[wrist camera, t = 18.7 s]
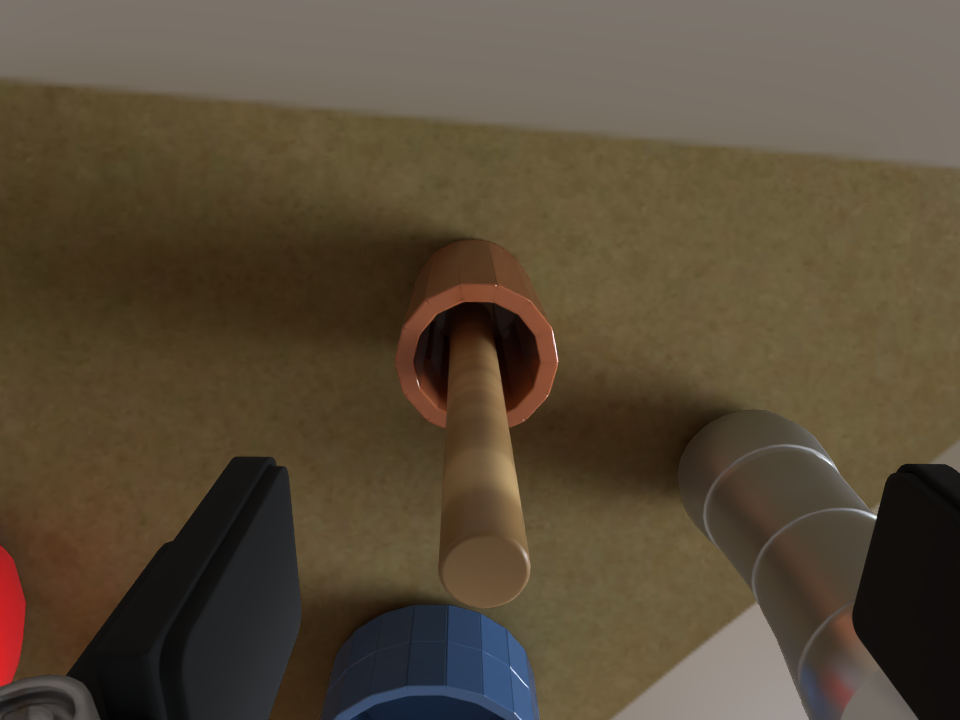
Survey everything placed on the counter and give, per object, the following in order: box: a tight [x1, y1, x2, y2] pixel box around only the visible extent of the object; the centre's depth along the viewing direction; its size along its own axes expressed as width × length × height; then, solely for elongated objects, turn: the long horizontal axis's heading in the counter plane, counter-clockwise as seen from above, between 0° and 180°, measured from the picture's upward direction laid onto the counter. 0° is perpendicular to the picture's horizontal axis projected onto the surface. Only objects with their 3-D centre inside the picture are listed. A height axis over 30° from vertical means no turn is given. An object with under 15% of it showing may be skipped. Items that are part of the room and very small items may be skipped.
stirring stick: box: [438, 302, 531, 608], centre depth 20 cm, size 2×2×19 cm
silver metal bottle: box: [678, 410, 918, 720], centre depth 23 cm, size 6×7×20 cm
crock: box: [395, 239, 558, 429], centre depth 26 cm, size 5×5×9 cm
